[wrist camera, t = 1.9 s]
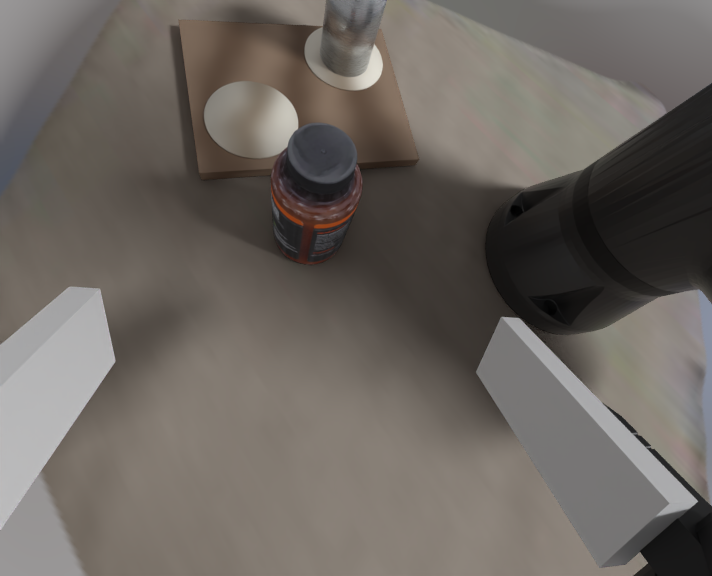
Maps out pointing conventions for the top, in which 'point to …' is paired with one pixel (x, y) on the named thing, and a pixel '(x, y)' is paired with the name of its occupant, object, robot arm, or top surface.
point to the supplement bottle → (314, 192)
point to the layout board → (284, 97)
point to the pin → (350, 35)
